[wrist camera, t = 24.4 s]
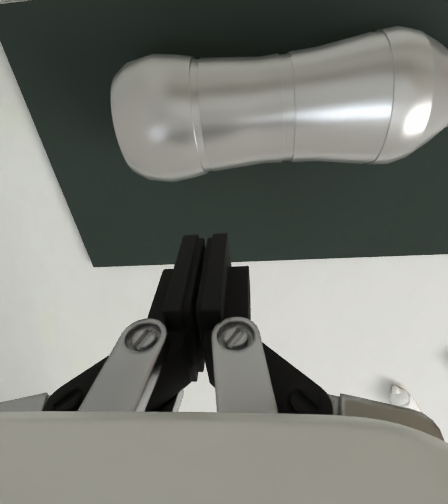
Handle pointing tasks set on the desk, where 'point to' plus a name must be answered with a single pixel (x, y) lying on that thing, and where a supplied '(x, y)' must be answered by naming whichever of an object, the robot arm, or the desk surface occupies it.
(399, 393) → the marker
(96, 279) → the desk surface
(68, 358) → the desk surface
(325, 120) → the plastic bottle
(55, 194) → the desk surface
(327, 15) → the mat
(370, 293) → the desk surface
